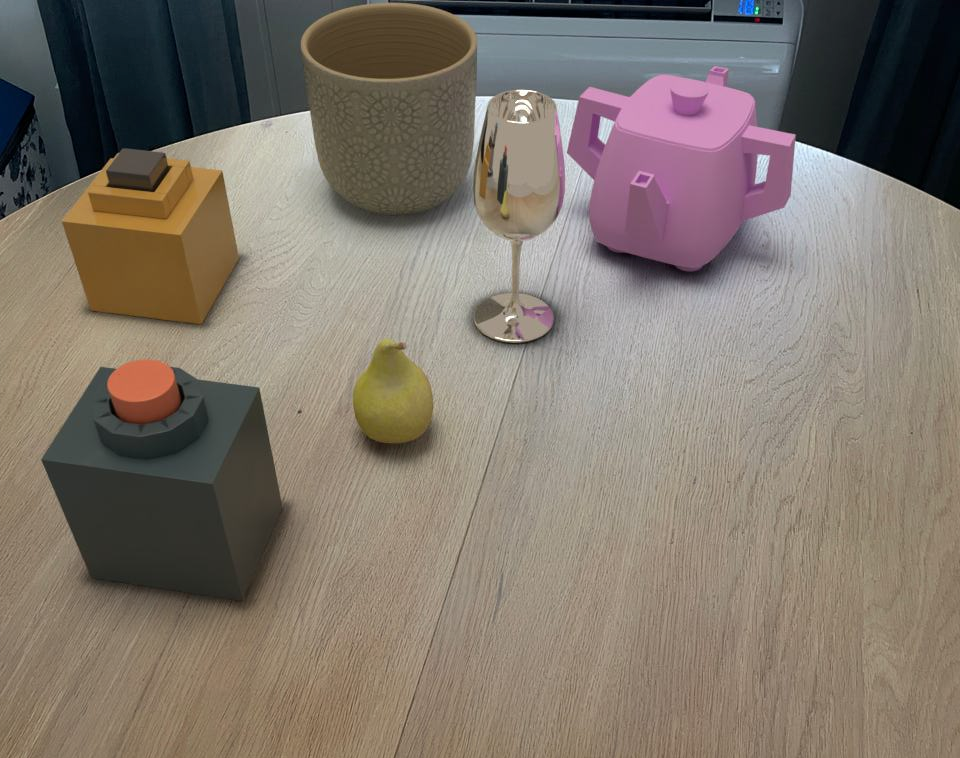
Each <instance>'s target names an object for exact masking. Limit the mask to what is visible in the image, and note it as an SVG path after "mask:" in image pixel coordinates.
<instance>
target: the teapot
mask: <svg viewBox="0 0 960 758" xmlns="http://www.w3.org/2000/svg"><path fill="white" fill-rule="evenodd" d="M729 71H730V68H727V67H723V66H719V65H714V66H713V67H711V69H709V72H708V75H707V78H706V80H705V81H702V80H697V79H693V78H687V77H682V76H679V75H677V76H676V75H670V74H659V75H656V76H654V77H652V78H650V79H649V80H647V81H646V82H645V83H643V84H642V85H641V86H639V88H638V89H636V90H635V91H634V93H633V94H631V95H630V96H626V95H623V94H619V93H616V92H611V91H607V90H604V89H599V88H596V87H593V86H589V87H587V89H585V91H584V92H583V93H582V94H580V96H579V97H578V101H577V105H576V110H575V114H574V118H573V123H572V127H571V131H570V136H569V140H568V145H567V149H566V154H567V155H568V156H569V157H570V158H571V159H572V160H573V161H574V162H575V163H576V164H577V165H578V166H579V167H580V168H581V169H582V170H583V171H584V172H585V173H586V174H587V175H588V176H589V177H590V178H591V179H592V180H593V184H592V189H591V193H590V198H589V206H588V218H589V225H590V228H591V231H592V233H593V236H594V238H595V241H596V242H598V244H599V243H600V244H601V245H604V246H606V247H607V249H608V250H610V251H612V252H614V253H623V254H625V253H627V254H630V255H634V256H637V257H641V258H644V259H648V260H653V261H656V262H660V263H664V264H669V265H673V266H675V268H677V270H678V269H679V270H681V271H684V272H695V271H700V270H701V269H702V268H703V266H705V265H706V264H708V263H710V262H711V261H712V260H713V259H715V257H717V256H718V255H719V253H721V251H722V250H723V249H725V247H726V246H727V245H728V244H729V243H730V241H732V239H733V237H734V236H735V235H736V233H737V232H738V230H739V229H740V227H741V226H742V224H743V222H744V221H748V220H751V219H753V218H757V217H760V216H762V215H766V214H769V213H772V212H775V211H777V210H782V209H784V208H785V207H786V205H787V204H788V201H789V199H790V198H791V196H792V195H791V194H792V184H793V171H794V160H795V151H796V150H795V149H796V138H797V137H796V136H797V134H795V133H790V132H789V133H788V132H785V131H780V130H775V129H770V128H765V127H759V126H758V121H757V109H756V108H757V107H756V101H755V98H754V97H753V96H752V94H751V93H749V92H746V91H742V90H740V89H735V88H731V87H728V86H727V85H728V80H729V79H728V77H729ZM602 118H604V119H607V120H609V121H611V122H614V123H613V125H612V127H611V130H610V131H609V134H608V137H607V140H606V143H604V142H603V141H602V139H600V138H599V133H600V126H601V125H600V124H601V119H602ZM758 156H769V160H768V165H767V171H766V172H767V173H766V177H765V181H762V182H757V183H756V177H757V167H758Z"/></svg>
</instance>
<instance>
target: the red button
mask: <svg viewBox="0 0 960 758" xmlns="http://www.w3.org/2000/svg"><path fill="white" fill-rule="evenodd" d="M170 367H171V366H170V365H168V364H166V363H165V362H162V361H161V360H156V359H137V360H133V361H129V362H126V363H123V364H122V365H120V366H118V367H117V368H115V369H116V370H115V371H114V372H113V373H112V374H111V375H110V377H109V379H108V382H107V388H108V391H109V394H110V397H111V400H112V403H113V406H114V409H115V412H116V414H117V415H118V417H119V418H121V419H122V420H123V421H125V422H127V423H134V424H141V425H143V424H147V423H152V422H157V421H162V420H164V419H165V418H167V417H168V416H170V415H172V414H173V413H175V412H176V411H177V410H178V408H179V406H180V402H181V397H180V393H179V389H178V385H177V382H176V378H175V374H174V372H173V370H172V369H171V368H170Z"/></svg>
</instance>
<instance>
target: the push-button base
mask: <svg viewBox="0 0 960 758" xmlns="http://www.w3.org/2000/svg"><path fill="white" fill-rule="evenodd" d="M119 153H120V152H117V153H116V154H115V156H114V157H113V158H111V157H110V158H109V160H108V161H107V162H106V163H105V165H104V166H103V167H102V169H101V170H100V171H99V173H98V174H97V175H96V176H95V178H94V179H93V180H92V181H91V183H90V184H89V185H88V187H87V188H86V190H85V191H84V192H83V193H82V194H81V196H80V197H79V198H78V200H77V201H76V202H75V203H74V205H73V206H72V207H71V209H69V211H68V212H67V214H66V215H65V217H63V219H62V220H61V224H62V227H63V229H64V233H65V236H66V239H67V242H68V245H69V248H70V252H71V255H72V257H73V260H74V263H75V266H76V269H77V272H78V276H79V279H80V281H81V285H82V288H83V291H84V294H85V297H86V300H87V303H88V306H89V309H90V311H92V312H100V313H107V314H116V315H122V316H131V317H140V318H146V319H156V320H163V321H171V322H178V323H179V322H180V323H187V324H195V325H203V322H204V321H205V319H206V317H207V316H208V314H209V312H210V310H211V308H212V307H213V305H214V303H215V302H216V300H217V298H218V297H219V295H220V292H221V291H222V289H223V288H224V286H225V284H226V282H227V281H228V279H229V277H230V276H231V274H232V272H233V270H234V268H235V267H236V265H237V263H238V261H239V260H240V255H239V251H238V245H237V240H236V235H235V229H234V224H233V219H232V215H231V208H230V203H229V197H228V193H227V188H226V182H225V177H224V171H223V170H222V169H214V168H205V167H195V166H192V165H191V161H190V160H188V159H178V158H168V157H166V158H167V162H168V167H169V172H168V173H167V175H166V176H165V178H164V179H163V181H162V182H161V183H160V185H159V186H158V188H157V189H156V191H155V192H147V191H138V190H129V189H120V188H111V187H110V185H109V181H108V177H107V174H106V170H107V168H108V167H109V166H110V165H111V163H112V162H113V161H114V159H115V158H116V157H117V156H118V154H119Z"/></svg>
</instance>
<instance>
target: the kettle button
mask: <svg viewBox="0 0 960 758" xmlns="http://www.w3.org/2000/svg"><path fill="white" fill-rule="evenodd" d="M118 153H119V154H118V156H117V157H116V158H115V159H114V158H113V159H114V161H113V162H112V163H111V165H110V166H109V167H108V168H107V170H106V174H107V177H108V181H109V185H110V187H111V188H120V189H129V190H138V191H147V192H155V191H156V189H157V188H158V186H159V185H160V183H161V182H162V181H163V179H164V178H165V176H166V175H167V173H168V172H169V167H168V162H167V158H168V157H167V154H166V152H162V151H153V150H145V149H143V150H142V149H134V148H125V147H124V148H122V149H121V150H120V151H119V152H118Z"/></svg>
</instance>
